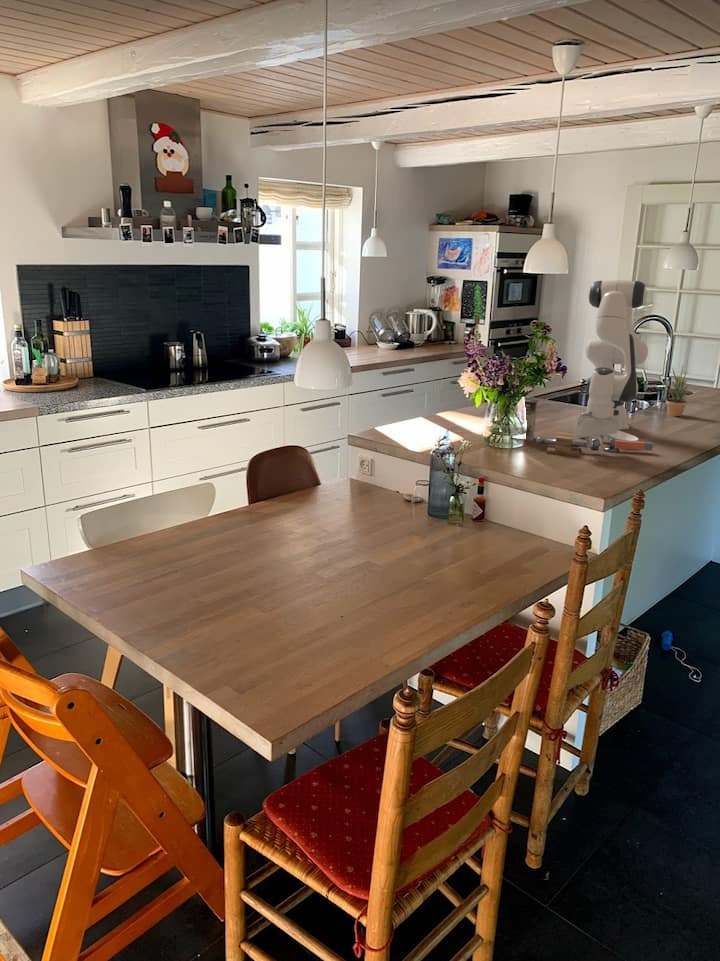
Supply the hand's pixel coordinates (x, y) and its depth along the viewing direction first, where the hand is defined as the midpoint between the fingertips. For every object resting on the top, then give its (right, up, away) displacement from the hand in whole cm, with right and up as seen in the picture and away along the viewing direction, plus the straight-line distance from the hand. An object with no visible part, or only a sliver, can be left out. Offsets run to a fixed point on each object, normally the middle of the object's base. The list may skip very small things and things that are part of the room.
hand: (594, 446), depth 291 cm
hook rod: (-10, 0, +3) cm, 10 cm away
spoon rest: (+11, +2, +19) cm, 22 cm away
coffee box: (-23, +4, +21) cm, 32 cm away
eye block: (-11, -1, +4) cm, 12 cm away
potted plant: (+61, +18, +73) cm, 97 cm away
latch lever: (+17, -1, +4) cm, 17 cm away
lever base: (+8, -1, +6) cm, 10 cm away
